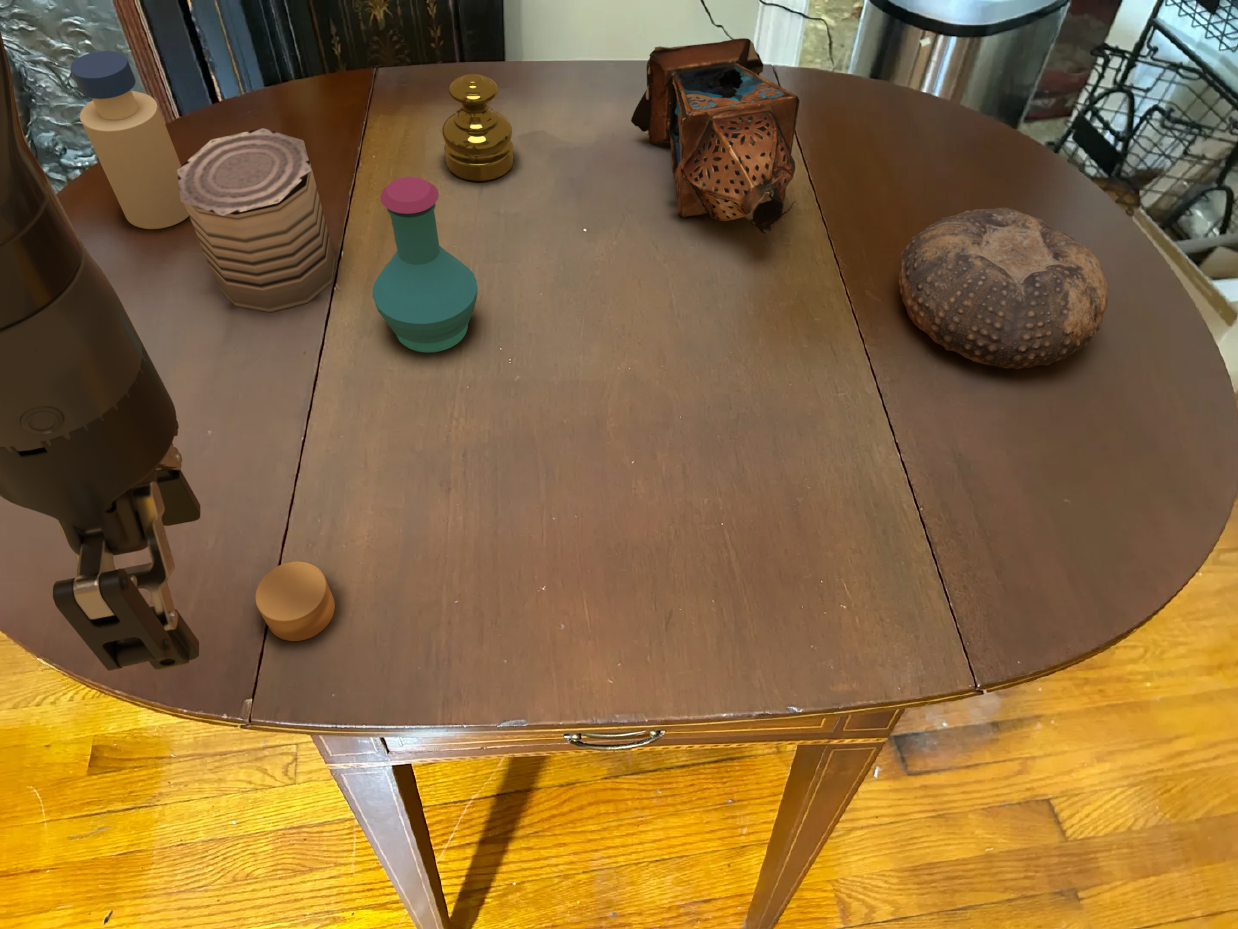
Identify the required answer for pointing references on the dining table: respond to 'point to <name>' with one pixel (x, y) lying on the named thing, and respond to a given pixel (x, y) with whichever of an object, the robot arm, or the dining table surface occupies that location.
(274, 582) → the tan short cylinder
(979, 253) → the sea urchin shell
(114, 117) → the cream bottle
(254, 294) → the can
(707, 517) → the dining table surface
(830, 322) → the dining table surface
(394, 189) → the perfume bottle
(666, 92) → the lantern
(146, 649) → the robot arm
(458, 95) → the brass weight
